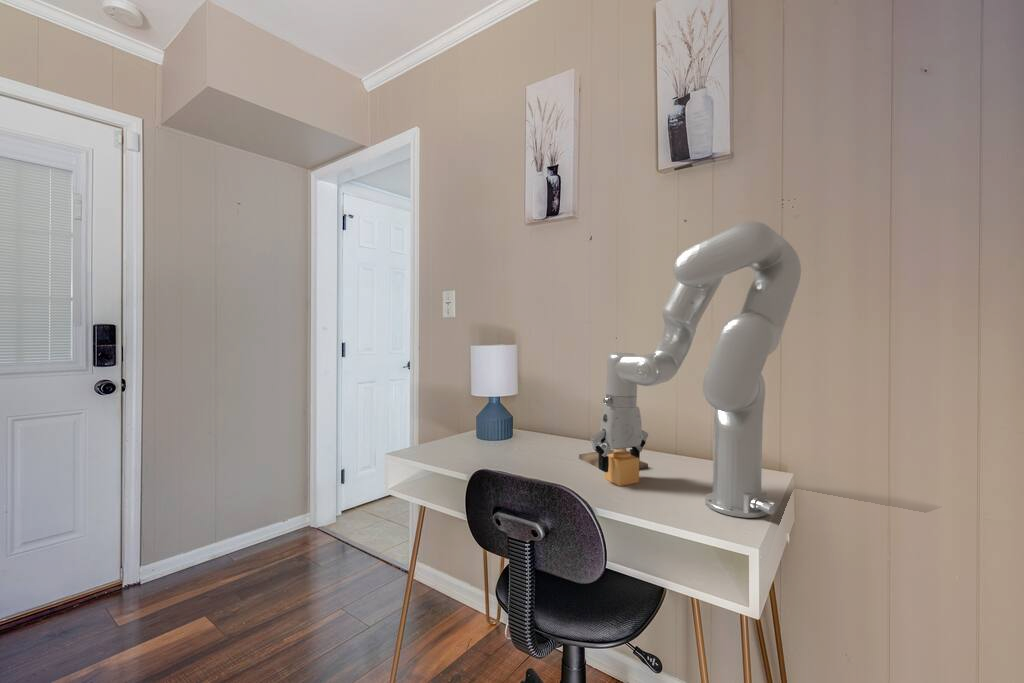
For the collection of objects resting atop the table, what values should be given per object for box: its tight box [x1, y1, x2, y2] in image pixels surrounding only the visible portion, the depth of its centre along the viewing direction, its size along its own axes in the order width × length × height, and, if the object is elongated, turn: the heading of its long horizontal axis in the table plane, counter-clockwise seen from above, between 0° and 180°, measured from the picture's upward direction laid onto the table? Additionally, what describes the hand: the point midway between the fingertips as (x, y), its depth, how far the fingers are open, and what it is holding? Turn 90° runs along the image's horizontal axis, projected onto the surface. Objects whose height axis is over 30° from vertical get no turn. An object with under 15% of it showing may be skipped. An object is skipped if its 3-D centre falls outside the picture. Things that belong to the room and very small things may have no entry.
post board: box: [578, 441, 649, 471], centre depth 133 cm, size 16×12×7 cm
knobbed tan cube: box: [604, 449, 640, 487], centre depth 118 cm, size 6×6×7 cm
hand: (619, 468), depth 118 cm, fingers open, 9 cm apart
